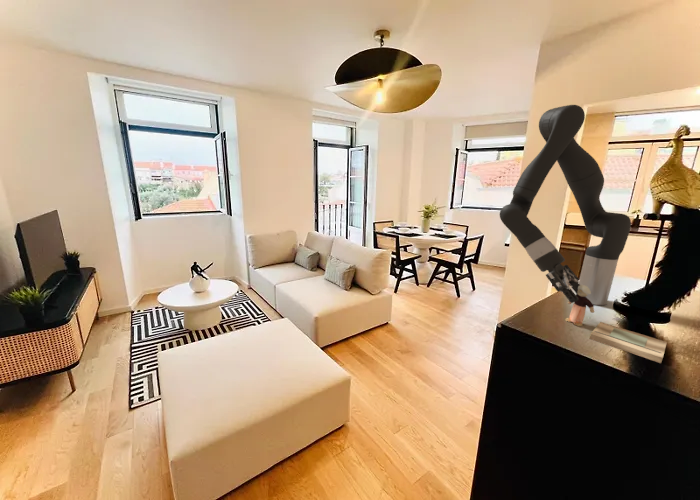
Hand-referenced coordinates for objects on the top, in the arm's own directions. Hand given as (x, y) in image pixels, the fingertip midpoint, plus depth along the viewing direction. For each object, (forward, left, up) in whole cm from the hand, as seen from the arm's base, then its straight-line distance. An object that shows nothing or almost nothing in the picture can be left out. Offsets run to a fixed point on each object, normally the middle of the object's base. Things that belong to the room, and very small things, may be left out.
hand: (579, 298), depth 88 cm
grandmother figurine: (0, +1, -9) cm, 9 cm away
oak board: (+2, +13, -8) cm, 15 cm away
